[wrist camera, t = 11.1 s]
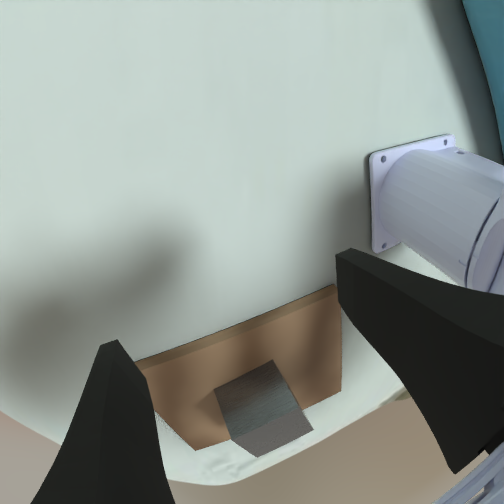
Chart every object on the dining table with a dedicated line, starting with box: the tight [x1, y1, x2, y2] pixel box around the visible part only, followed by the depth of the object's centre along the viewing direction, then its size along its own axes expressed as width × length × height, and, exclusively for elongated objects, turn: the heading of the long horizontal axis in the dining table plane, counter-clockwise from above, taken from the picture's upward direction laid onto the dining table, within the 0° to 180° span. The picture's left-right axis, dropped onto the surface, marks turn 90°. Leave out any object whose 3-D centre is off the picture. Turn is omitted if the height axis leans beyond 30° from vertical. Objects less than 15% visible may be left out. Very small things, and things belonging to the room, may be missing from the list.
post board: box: [134, 284, 342, 451], centre depth 25 cm, size 17×15×4 cm
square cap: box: [214, 359, 314, 457], centre depth 24 cm, size 5×5×5 cm
